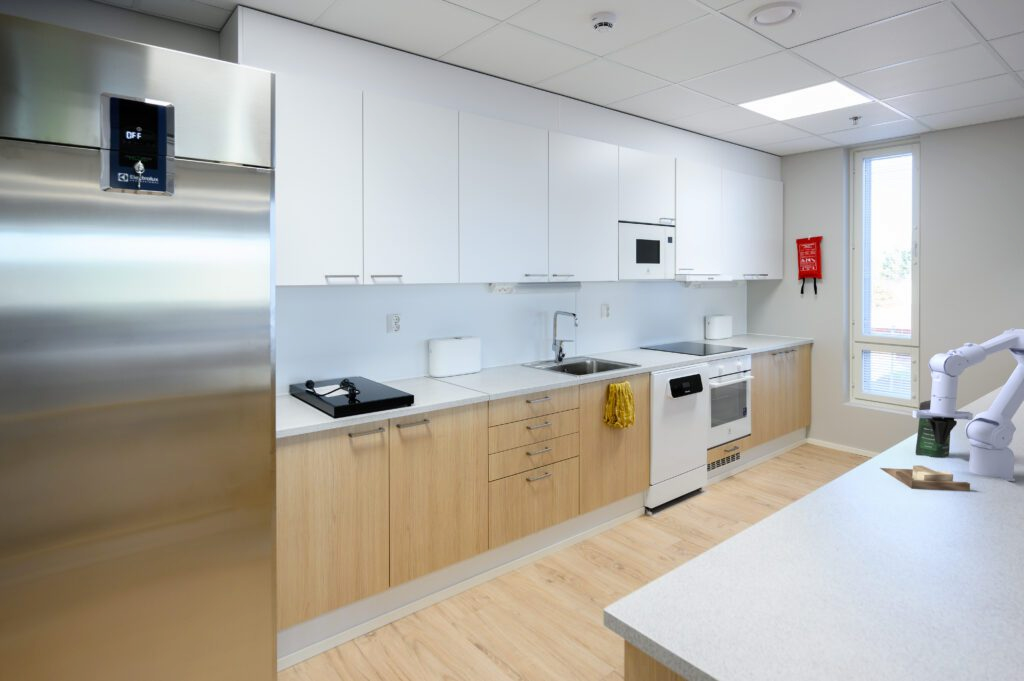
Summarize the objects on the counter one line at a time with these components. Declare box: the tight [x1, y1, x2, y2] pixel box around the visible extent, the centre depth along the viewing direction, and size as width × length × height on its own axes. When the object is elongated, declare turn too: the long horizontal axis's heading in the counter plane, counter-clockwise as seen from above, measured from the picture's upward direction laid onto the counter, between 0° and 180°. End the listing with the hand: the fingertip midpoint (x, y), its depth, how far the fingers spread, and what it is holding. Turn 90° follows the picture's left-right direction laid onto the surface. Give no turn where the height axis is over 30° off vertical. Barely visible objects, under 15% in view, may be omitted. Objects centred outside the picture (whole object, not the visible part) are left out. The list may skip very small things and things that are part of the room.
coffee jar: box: [915, 399, 951, 459], centre depth 182 cm, size 10×8×19 cm
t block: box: [912, 465, 954, 482], centre depth 156 cm, size 8×8×4 cm
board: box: [879, 467, 971, 492], centre depth 159 cm, size 14×17×3 cm
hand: (940, 443), depth 163 cm, fingers closed
